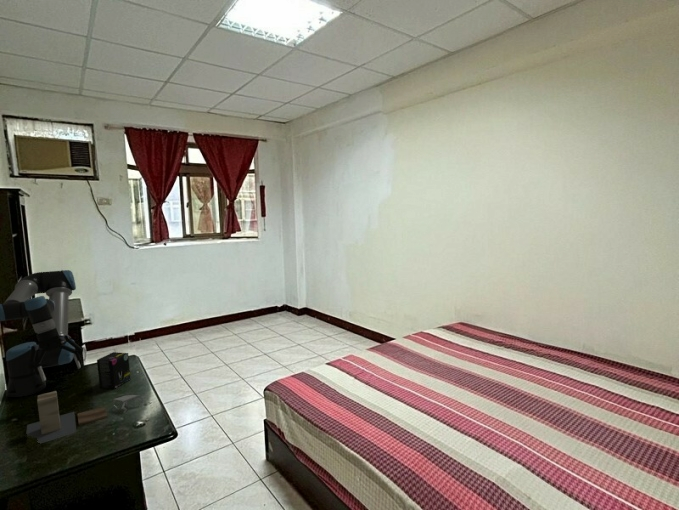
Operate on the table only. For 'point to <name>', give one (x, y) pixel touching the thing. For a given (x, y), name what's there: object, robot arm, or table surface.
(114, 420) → the table surface
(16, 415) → the table surface
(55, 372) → the table surface
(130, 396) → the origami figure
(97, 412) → the walnut pad
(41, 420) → the birch block
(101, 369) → the tampon box
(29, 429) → the tile
